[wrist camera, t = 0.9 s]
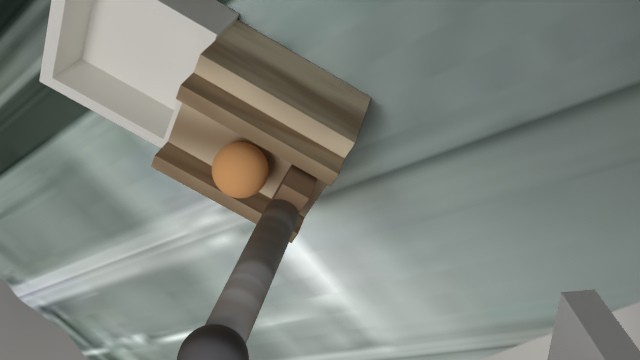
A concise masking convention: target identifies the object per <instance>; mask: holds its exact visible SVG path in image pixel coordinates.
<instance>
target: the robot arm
mask: <svg viewBox="0 0 640 360" xmlns="http://www.w3.org/2000/svg"><path fill="white" fill-rule="evenodd" d="M548 360H640V351H639V349H638V348H637V347H636V345H635V344H634V343H633V341H632V340H631V338H630V337H629V336H628V334H627V333H626V332H625V330H624V329H623V328H622V326H621V325H620V324H619V322H618V321H617V320H616V318H615V317H614V315H613V314H612V313H611V311H610V310H609V309H608V307H607V306H606V305H605V303H604V302H603V300H602V299H601V298H600V296H599V295H598V294H597V292H596V291H595V290H584V291H572V292H561V296H560V301H559V306H558V311H557V316H556V321H555V325H554V330H553V336H552V340H551V345H550V350H549V355H548Z"/></svg>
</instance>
